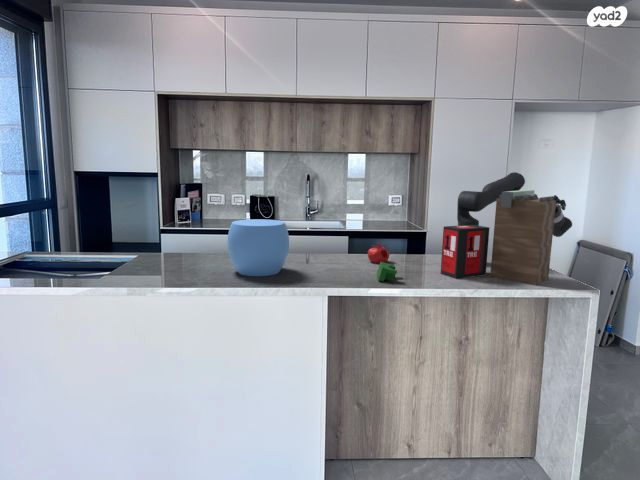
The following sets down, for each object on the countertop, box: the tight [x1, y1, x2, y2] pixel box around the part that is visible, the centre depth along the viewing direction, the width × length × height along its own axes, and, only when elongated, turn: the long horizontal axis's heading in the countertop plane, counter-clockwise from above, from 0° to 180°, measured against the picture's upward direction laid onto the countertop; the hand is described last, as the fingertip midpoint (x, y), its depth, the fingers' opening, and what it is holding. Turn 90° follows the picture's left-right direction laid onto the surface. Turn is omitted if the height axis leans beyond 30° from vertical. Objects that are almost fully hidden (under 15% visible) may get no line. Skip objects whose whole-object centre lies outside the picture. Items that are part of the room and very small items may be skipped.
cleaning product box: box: [440, 225, 491, 280], centre depth 192 cm, size 16×9×20 cm, turn 117°
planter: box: [226, 218, 290, 277], centre depth 190 cm, size 25×25×20 cm
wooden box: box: [489, 194, 556, 286], centre depth 186 cm, size 14×18×34 cm
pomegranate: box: [367, 241, 390, 264], centre depth 213 cm, size 10×10×9 cm
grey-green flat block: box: [501, 189, 535, 208], centre depth 190 cm, size 26×4×6 cm, turn 137°
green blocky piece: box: [376, 262, 398, 283], centre depth 183 cm, size 12×6×9 cm, turn 170°
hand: (544, 196), depth 208 cm, fingers open, 8 cm apart
